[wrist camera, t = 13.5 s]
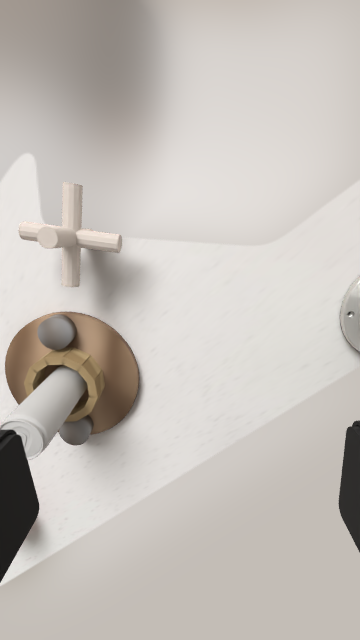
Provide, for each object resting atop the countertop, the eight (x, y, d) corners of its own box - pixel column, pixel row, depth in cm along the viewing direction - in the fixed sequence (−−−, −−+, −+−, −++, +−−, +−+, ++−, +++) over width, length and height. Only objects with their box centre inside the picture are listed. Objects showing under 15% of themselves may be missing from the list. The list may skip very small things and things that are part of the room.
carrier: (130, 308, 36) (122, 317, 32) (145, 428, 42) (140, 449, 38) (-4, 315, 38) (-28, 325, 34) (26, 431, 43) (9, 451, 39)
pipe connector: (133, 197, 33) (108, 182, 23) (127, 283, 36) (101, 301, 26) (47, 185, 33) (-14, 165, 23) (47, 272, 36) (-7, 286, 26)
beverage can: (93, 369, 38) (49, 428, 26) (84, 399, 39) (39, 467, 28) (58, 357, 38) (-2, 412, 26) (50, 388, 39) (-10, 452, 28)
